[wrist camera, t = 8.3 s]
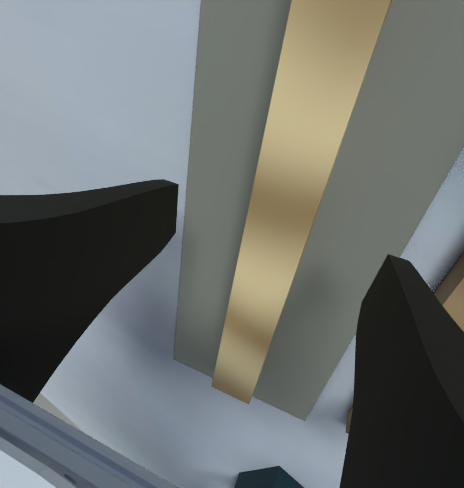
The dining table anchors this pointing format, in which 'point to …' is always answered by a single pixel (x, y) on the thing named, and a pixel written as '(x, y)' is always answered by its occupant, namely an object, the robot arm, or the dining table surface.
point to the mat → (337, 190)
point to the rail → (294, 171)
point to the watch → (266, 479)
